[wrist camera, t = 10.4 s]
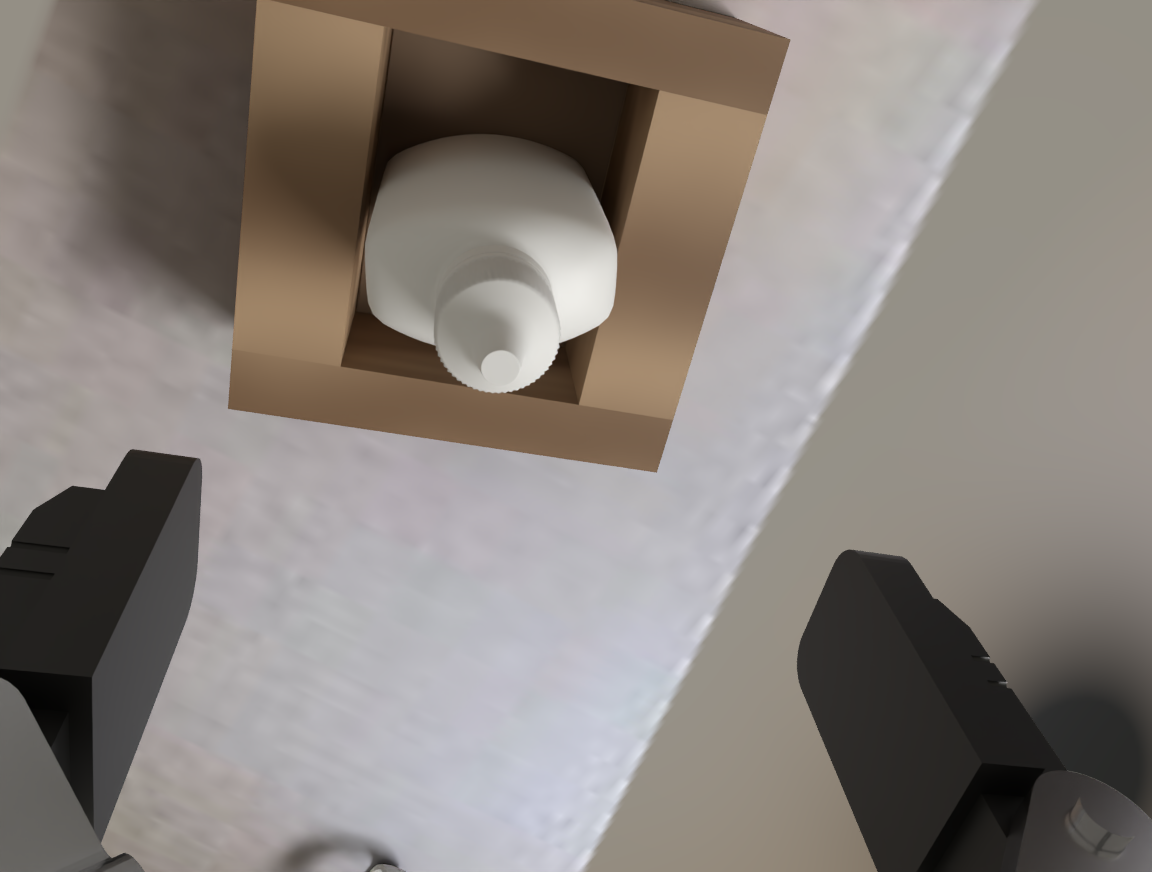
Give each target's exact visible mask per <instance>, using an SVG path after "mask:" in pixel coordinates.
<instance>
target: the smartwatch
mask: <svg viewBox="0 0 1152 872" xmlns="http://www.w3.org/2000/svg"><path fill="white" fill-rule="evenodd" d="M369 872H406V871H404V870H402V869H399V868H397V867H395V866H392V865H386V864H378V865H376V866H375V867H373V868H372V869H371V870H370V871H369Z"/></svg>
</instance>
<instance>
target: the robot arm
mask: <svg viewBox="0 0 1152 872" xmlns="http://www.w3.org/2000/svg"><path fill="white" fill-rule="evenodd" d="M201 487H202V464H201V460H200V459H199V458H192V457H185V456H178V455H171V454H163V453H156V452H149V451H142V450H134V449H132V450H130V451H129V452H128V453H127V454H126V456H125V457H124V459H123V461H122V462H121V464H120V466H119V467H118V469H117V471H116V472H115V474H114V476H113V477H112V479H111V481H110V482H109V484H108V486H107V487H106V489H105V490H101V489H93V488H85V487H77V486H71V487H70V488H68V489H66V490H65V491H63V492H61V493H60V494H58V495H57V496H55V497H53V498H52V499H50V500H48V501H47V502H45V503H44V504H42V505H40V506H39V507H37V508H35V509H34V510H33V511H32V512H31V514H30V515H29V517H28V518H27V520H26V521H25V523H24V524H23V525H22V527H21V528H20V530H19V531H18V533H17V534H16V535H15V537H14V538H13V540H12V544H11V547H7V548H6V550H5V551H4V553H3V554H2V555H1V557H0V872H144V870H143V869H142V867H141V866H140V865H139V863H138V862H137V861H136V860H135V859H134V858H133V857H132V856H130V855H129V854H126V853H123V854H120V855H118V856H116V857H114V858H111V857H110V856H109V855H108V854H107V853H106V851H105V850H104V848H103V847H102V845H101V841H102V839H103V836H104V834H105V831H106V828H107V826H108V823H109V820H110V818H111V815H112V813H113V810H114V807H115V805H116V802H117V800H118V797H119V794H120V792H121V789H122V787H123V784H124V781H125V779H126V776H127V774H128V771H129V768H130V766H131V763H132V760H133V758H134V755H135V753H136V750H137V747H138V745H139V742H140V740H141V737H142V734H143V732H144V729H145V727H146V724H147V721H148V719H149V716H150V714H151V711H152V708H153V706H154V703H155V700H156V698H157V695H158V693H159V690H160V687H161V685H162V682H163V680H164V677H165V674H166V672H167V669H168V667H169V664H170V661H171V659H172V656H173V654H174V651H175V648H176V646H177V643H178V640H179V638H180V635H181V633H182V630H183V627H184V625H185V622H186V619H187V616H188V613H189V610H190V606H191V602H192V598H193V593H194V587H195V581H196V574H197V563H198V544H199V525H200V506H201ZM989 659H990V656H989V655H988V654H987V652H986V651H985V649H984V648H983V646H982V645H981V643H980V642H979V640H978V639H977V637H976V636H975V634H974V633H973V632H972V630H971V629H970V627H969V626H968V625H966V624H965V623H964V622H963V621H962V620H961V619H959V618H958V617H957V616H956V615H955V614H954V613H953V612H951V611H950V610H949V609H948V608H947V607H946V606H945V605H944V604H943V603H941V602H940V601H939V600H938V599H933V597H932V596H931V594H930V593H929V591H928V589H927V588H926V586H925V585H924V583H923V582H922V580H921V579H920V577H919V576H918V574H917V573H916V571H915V570H914V568H913V567H912V565H911V564H910V562H909V561H908V560H907V559H905V558H903V557H900V556H893V555H886V554H878V553H871V552H864V551H856V550H846V551H844V552H843V553H841V554H840V555H839V557H838V558H837V559H836V561H835V563H834V565H833V567H832V570H831V572H830V574H829V577H828V579H827V581H826V583H825V586H824V588H823V590H822V593H821V595H820V597H819V599H818V601H817V604H816V606H815V609H814V611H813V613H812V615H811V617H810V620H809V622H808V624H807V627H806V629H805V631H804V633H803V636H802V638H801V641H800V645H799V650H798V658H797V672H798V679H799V683H800V687H801V689H802V692H803V694H804V697H805V699H806V701H807V703H808V706H809V708H810V711H811V713H812V715H813V718H814V720H815V723H816V725H817V728H818V730H819V732H820V735H821V737H822V740H823V742H824V744H825V747H826V749H827V752H828V754H829V756H830V759H831V761H832V764H833V766H834V768H835V770H836V773H837V775H838V778H839V780H840V783H841V785H842V787H843V790H844V792H845V795H846V797H847V799H848V802H849V804H850V806H851V809H852V811H853V814H854V816H855V818H856V821H857V823H858V826H859V828H860V831H861V833H862V835H863V838H864V840H865V843H866V845H867V847H868V849H869V852H870V854H871V857H872V859H873V862H874V864H875V866H876V869H877V871H878V872H1152V820H1151V819H1150V818H1149V817H1148V816H1147V815H1146V814H1145V813H1144V812H1143V811H1142V810H1141V809H1140V808H1139V807H1138V806H1137V805H1135V804H1134V803H1133V802H1132V801H1131V800H1129V799H1128V798H1126V797H1125V796H1124V795H1122V794H1121V793H1119V792H1118V791H1116V790H1115V789H1113V788H1111V787H1110V786H1108V785H1106V784H1104V783H1102V782H1100V781H1098V780H1096V779H1094V778H1091V777H1089V776H1086V775H1083V774H1079V773H1076V772H1071V771H1067V770H1066V768H1065V767H1064V765H1063V764H1062V762H1061V761H1060V759H1059V758H1058V756H1057V755H1056V754H1055V752H1054V751H1053V749H1052V748H1051V746H1050V745H1049V743H1048V742H1047V740H1046V739H1045V737H1044V736H1043V734H1042V733H1041V732H1040V730H1039V729H1038V727H1037V726H1036V724H1035V723H1034V721H1033V720H1032V718H1031V717H1030V715H1029V714H1028V712H1027V711H1026V709H1025V708H1024V706H1023V705H1022V704H1021V702H1020V701H1019V699H1018V698H1017V696H1016V695H1015V693H1014V692H1013V690H1012V689H1010V688H1007V687H1006V684H1007V682H1006V680H1005V679H1004V677H1003V676H1002V674H1001V673H1000V671H999V670H998V668H997V667H996V665H995V664H994V663H990V661H989Z"/></svg>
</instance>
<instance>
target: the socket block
mask: <svg viewBox="0 0 1152 872" xmlns="http://www.w3.org/2000/svg"><path fill="white" fill-rule="evenodd" d="M789 43H790V39H787V38H785V37H782V36H780V35H777V34H775V33H772V32H770V31H767V30H765V29H762V28H760V27H757V26H755V25H752V24H750V23H747V22H744V21H742V20H739V19H737V18H733V17H729V16H725V15H721V14H717V13H713V12H709V11H705V10H701V9H697V8H693V7H689V6H685V5H681V4H677V3H673V2H669V1H665V0H257V5H256V19H255V33H254V47H253V62H252V76H251V90H250V104H249V119H248V133H247V147H246V161H245V175H244V190H243V204H242V218H241V232H240V246H239V261H238V275H237V289H236V303H235V318H234V332H233V346H232V360H231V374H230V389H229V403H228V409H234V410H240V411H247V412H254V413H260V414H267V415H274V416H281V417H287V418H294V419H301V420H308V421H314V422H321V423H328V424H334V425H341V426H348V427H355V428H361V429H368V430H375V431H382V432H388V433H395V434H402V435H408V436H415V437H422V438H429V439H435V440H442V441H449V442H456V443H462V444H469V445H476V446H482V447H489V448H496V449H503V450H509V451H516V452H523V453H529V454H536V455H543V456H550V457H556V458H563V459H570V460H577V461H583V462H590V463H597V464H603V465H610V466H617V467H624V468H630V469H637V470H644V471H651V472H657V470H658V467H659V463H660V460H661V457H662V454H663V450H664V447H665V444H666V441H667V437H668V434H669V431H670V428H671V425H672V421H673V418H674V415H675V412H676V408H677V405H678V402H679V399H680V395H681V392H682V389H683V386H684V382H685V379H686V376H687V373H688V369H689V366H690V363H691V360H692V357H693V353H694V350H695V347H696V344H697V340H698V337H699V334H700V331H701V327H702V324H703V321H704V318H705V314H706V311H707V308H708V305H709V302H710V298H711V295H712V292H713V289H714V285H715V282H716V279H717V276H718V272H719V269H720V266H721V263H722V259H723V256H724V253H725V250H726V246H727V243H728V240H729V237H730V234H731V230H732V227H733V224H734V221H735V217H736V214H737V211H738V208H739V204H740V201H741V198H742V195H743V191H744V188H745V185H746V182H747V179H748V175H749V172H750V169H751V166H752V162H753V159H754V156H755V153H756V149H757V146H758V143H759V140H760V136H761V133H762V130H763V127H764V123H765V120H766V117H767V114H768V111H769V107H770V104H771V101H772V98H773V94H774V91H775V88H776V85H777V81H778V78H779V75H780V72H781V68H782V65H783V62H784V59H785V56H786V52H787V49H788V46H789ZM467 134H494V135H504V136H511V137H516V138H521V139H525V140H529V141H533V142H536V143H539V144H542V145H545V146H548V147H550V148H553V149H555V150H557V151H560V152H562V153H564V154H566V155H568V156H570V157H571V158H573V159H575V160H576V161H577V162H578V163H579V164H580V165H581V166H582V167H583V169H584V171H585V173H586V175H587V177H588V179H589V181H590V183H591V185H592V188H593V190H594V192H595V194H596V196H597V198H598V201H599V203H600V205H601V207H602V209H603V212H604V214H605V216H606V218H607V220H608V223H609V225H610V228H611V231H612V233H613V236H614V240H615V244H616V248H617V277H616V289H615V298H614V305H613V308H612V310H611V312H610V315H609V317H608V318H607V319H606V320H605V321H603V322H602V323H601V324H600V325H599V326H597V327H595V328H593V329H591V330H590V331H588V332H586V333H584V334H581V335H579V336H577V337H575V338H572V339H569V340H567V341H564V342H561V343H559V348H558V349H557V352H558V354H556V355H555V360H553V361H552V365H550V366H549V367H548V368H549V369H548V370H546V371H544V373H545V374H543V375H541V376H540V378H539V379H536V380H535V382H533V383H530V385H529V386H525V387H524V388H519V390H513V391H512V392H509V391H508V392H506V393H503V392H501V393H496V392H495V393H491V392H487V393H486V392H484V391H479V390H478V389H473V388H472V387H467V384H462V382H461V381H458V380H457V378H456V377H453V376H452V373H450V372H447V368H445V367H444V363H442V362H441V361H440V357H439V356H438V351H436V346H435V345H432V344H429V343H426V342H422V341H420V340H417V339H414V338H412V337H409V336H407V335H405V334H403V333H400V332H398V331H396V330H394V329H392V328H390V327H389V326H387V325H385V324H383V323H382V322H381V321H380V320H379V319H378V318H377V317H375V316H374V315H373V313H372V311H371V308H370V306H369V304H368V298H367V289H366V273H365V241H366V237H367V232H368V228H369V224H370V221H371V217H372V213H373V210H374V206H375V202H376V199H377V195H378V192H379V188H380V185H381V181H382V178H383V174H384V171H385V168H386V164H387V162H388V161H389V160H390V159H391V158H392V157H394V156H395V155H396V154H398V153H400V152H402V151H404V150H406V149H408V148H411V147H413V146H416V145H418V144H422V143H425V142H428V141H432V140H436V139H440V138H445V137H450V136H457V135H467Z"/></svg>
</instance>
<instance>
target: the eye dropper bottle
mask: <svg viewBox="0 0 1152 872" xmlns="http://www.w3.org/2000/svg"><path fill="white" fill-rule="evenodd" d="M365 273H366V289H367V298H368V304H369V306H370V308H371V311H372V313H373V315H374V316H375V317H377V318H378V319H379V320H380V321H381V322H382V323H383V324H385V325H387V326H389V327H390V328H392V329H394V330H396V331H398V332H400V333H403V334H405V335H407V336H409V337H412V338H414V339H417V340H420V341H422V342H426V343H429V344H432V345H435V346H436V351H438V356H439V357H440V361H441V362H442V363H444V367H445V368H447V372H450V373H452V376H453V377H456V378H457V380H458V381H461V382H462V384H467V387H472V388H473V389H478V390H479V391H484V392H486V393H487V392H491V393H495V392H496V393H501V392H503V393H506V392H508V391H509V392H512V391H513V390H519V388H524V387H525V386H529V385H530V383H533V382H535V380H536V379H539V378H540V376H541V375H543V374H545V373H544V371H546V370H548V369H549V368H548V367H549V366H550V365H552V361H553V360H555V355H556V354H558V352H557V349H558V348H559V343H561V342H564V341H567V340H569V339H572V338H575V337H577V336H579V335H581V334H584V333H586V332H588V331H590V330H591V329H593V328H595V327H597V326H599V325H600V324H601V323H602V322H603V321H605V320H606V319H607V318H608V317H609V315H610V312H611V310H612V308H613V305H614V298H615V289H616V277H617V248H616V244H615V240H614V236H613V233H612V231H611V228H610V225H609V223H608V220H607V218H606V216H605V214H604V212H603V209H602V207H601V205H600V203H599V201H598V198H597V196H596V194H595V192H594V190H593V188H592V185H591V183H590V181H589V179H588V177H587V175H586V173H585V171H584V169H583V167H582V166H581V165H580V164H579V163H578V162H577V161H576V160H575V159H573V158H571V157H570V156H568V155H566V154H564V153H562V152H560V151H557V150H555V149H553V148H550V147H548V146H545V145H542V144H539V143H536V142H533V141H529V140H525V139H521V138H516V137H511V136H504V135H494V134H467V135H457V136H450V137H445V138H440V139H436V140H432V141H428V142H425V143H422V144H418V145H416V146H413V147H411V148H408V149H406V150H404V151H402V152H400V153H398V154H396V155H395V156H394V157H392V158H391V159H390V160H389V161H388V162H387V164H386V168H385V171H384V174H383V178H382V181H381V185H380V188H379V192H378V195H377V199H376V202H375V206H374V210H373V213H372V217H371V221H370V224H369V228H368V232H367V237H366V241H365Z"/></svg>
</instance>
